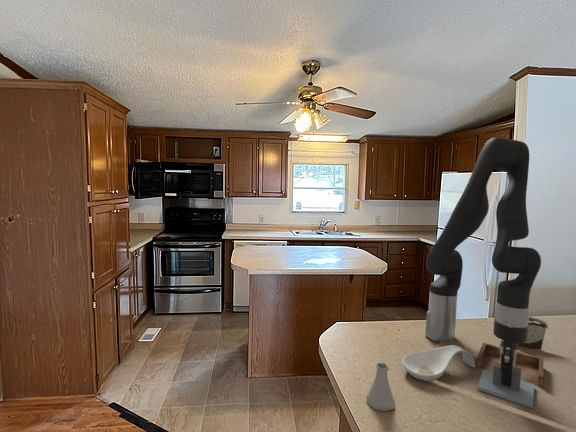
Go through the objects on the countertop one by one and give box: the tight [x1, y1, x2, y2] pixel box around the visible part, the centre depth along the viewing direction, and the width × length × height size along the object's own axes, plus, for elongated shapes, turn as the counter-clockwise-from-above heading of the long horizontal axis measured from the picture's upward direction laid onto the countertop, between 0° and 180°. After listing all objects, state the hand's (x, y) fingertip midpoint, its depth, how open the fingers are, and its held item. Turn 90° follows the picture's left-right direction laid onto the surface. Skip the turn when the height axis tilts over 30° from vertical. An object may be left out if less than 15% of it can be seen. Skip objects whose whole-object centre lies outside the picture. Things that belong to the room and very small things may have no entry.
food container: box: [516, 316, 549, 351], centre depth 117 cm, size 12×6×10 cm, turn 84°
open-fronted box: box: [475, 342, 544, 388], centre depth 100 cm, size 16×13×4 cm
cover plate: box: [477, 362, 535, 409], centre depth 89 cm, size 12×11×6 cm
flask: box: [366, 361, 396, 412], centre depth 83 cm, size 7×7×10 cm
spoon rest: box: [401, 344, 477, 382], centre depth 98 cm, size 24×12×7 cm, turn 108°
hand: (506, 382), depth 89 cm, fingers closed on cover plate, 3 cm apart
